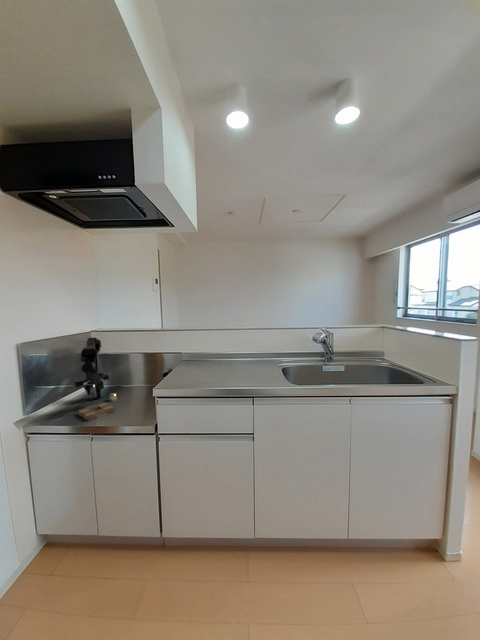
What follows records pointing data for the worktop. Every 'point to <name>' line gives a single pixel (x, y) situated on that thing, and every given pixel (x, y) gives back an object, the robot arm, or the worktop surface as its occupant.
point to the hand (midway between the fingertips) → (92, 393)
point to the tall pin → (92, 390)
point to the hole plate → (96, 411)
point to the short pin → (113, 397)
